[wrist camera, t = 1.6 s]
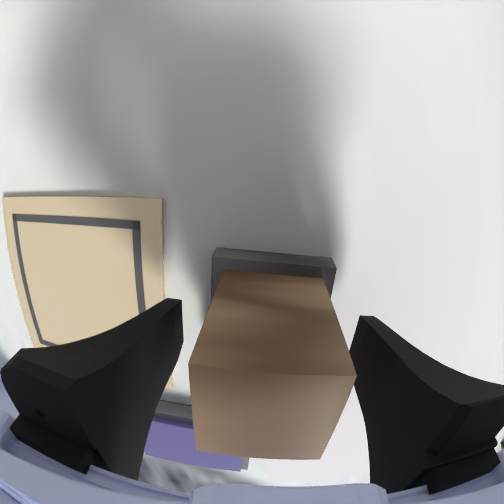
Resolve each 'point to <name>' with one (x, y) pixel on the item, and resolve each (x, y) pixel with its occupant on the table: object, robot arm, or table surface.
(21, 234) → the card
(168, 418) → the pad
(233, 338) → the stamp
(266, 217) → the table surface
